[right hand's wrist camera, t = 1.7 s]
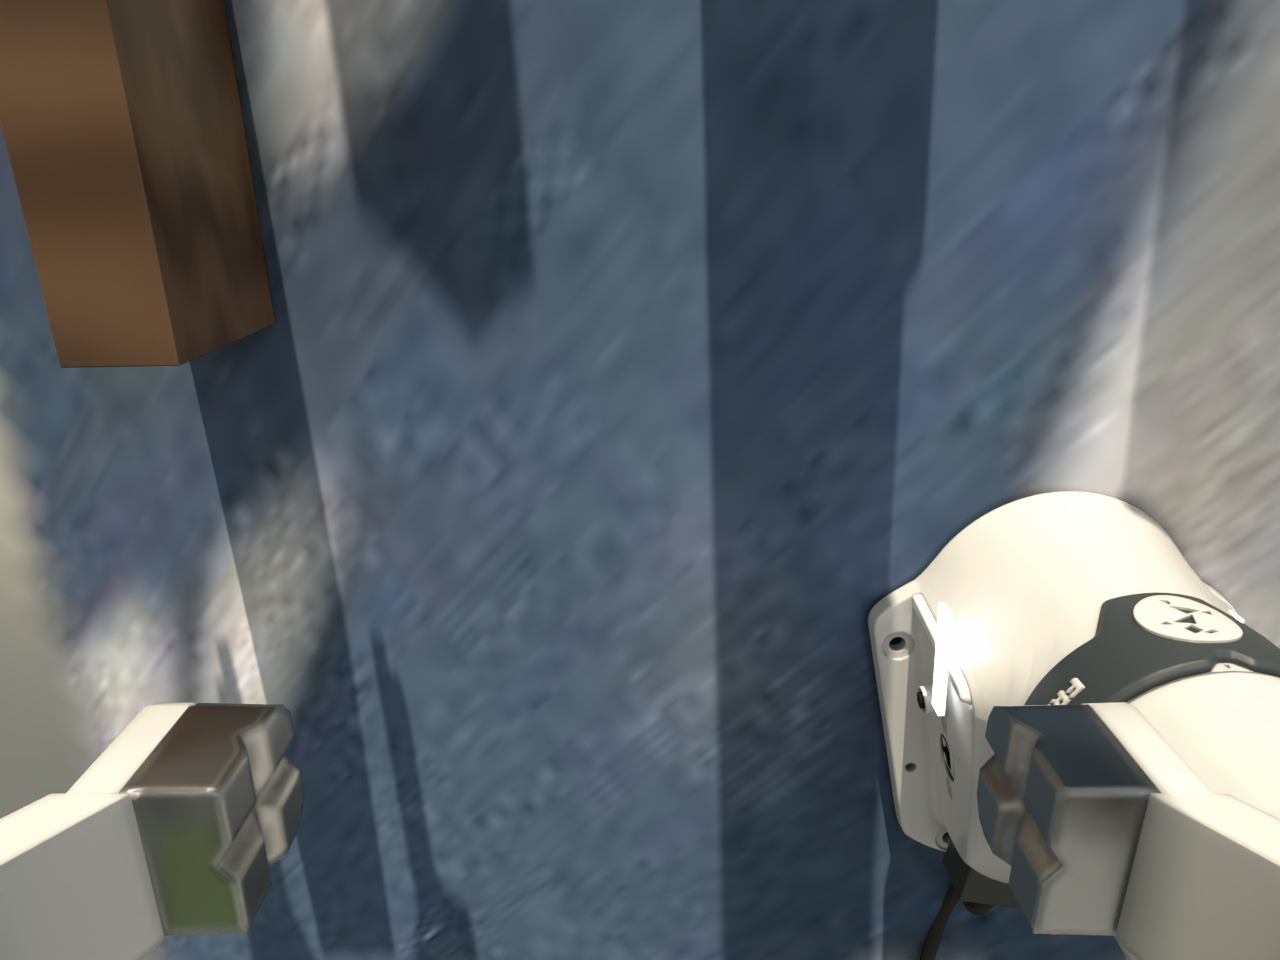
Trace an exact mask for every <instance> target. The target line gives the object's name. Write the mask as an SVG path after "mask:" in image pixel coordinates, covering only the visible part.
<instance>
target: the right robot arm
mask: <svg viewBox="0 0 1280 960" xmlns="http://www.w3.org/2000/svg"><path fill="white" fill-rule="evenodd" d="M1243 622H1244V620H1243V619H1242V618H1241V617H1240V616H1238V615H1237V613H1236V611H1235V609H1234V608H1233V607H1232V605H1231V604H1230V603H1229V602H1228V601H1227V600H1226V599H1225V598H1224V597H1223V596H1222V595H1221V594H1220V593H1218V592H1217V591H1216V590H1214V589H1213V588H1212V587H1210V586H1209V585H1207V584H1206V583H1204V582H1203V581H1202V580H1201V579H1200V578H1199V577H1198V576H1197V575H1196V573H1195V572H1194V571H1193V569H1192V568H1191V567H1190V566H1189V564H1188V563H1187V562H1186V560H1185V559H1184V557H1183V556H1182V554H1181V553H1180V551H1179V550H1178V548H1177V547H1176V545H1175V543H1174V542H1173V540H1172V539H1171V537H1170V536H1169V535H1168V533H1167V532H1166V531H1165V530H1164V529H1163V528H1162V527H1161V526H1160V525H1159V524H1158V523H1157V522H1156V521H1155V520H1154V519H1153V518H1152V517H1150V516H1149V515H1147V514H1146V513H1145V512H1143V511H1141V510H1140V509H1138V508H1137V507H1135V506H1133V505H1131V504H1129V503H1126V502H1124V501H1121V500H1119V499H1116V498H1113V497H1110V496H1106V495H1101V494H1096V493H1090V492H1079V491H1064V492H1051V493H1044V494H1039V495H1034V496H1030V497H1026V498H1023V499H1019V500H1016V501H1013V502H1011V503H1008V504H1006V505H1003V506H1001V507H999V508H997V509H995V510H993V511H991V512H989V513H987V514H985V515H984V516H982V517H980V518H979V519H977V520H976V521H974V522H973V523H971V524H970V525H969V526H967V527H966V528H965V529H963V530H962V531H961V532H960V533H958V534H957V535H956V536H955V537H954V538H953V539H952V540H951V541H950V542H949V543H948V544H947V545H946V546H945V547H944V548H943V549H942V550H941V552H940V553H939V554H938V555H937V556H936V558H935V559H934V560H933V561H932V562H931V564H930V565H929V566H928V567H927V568H926V569H925V570H924V572H923V573H922V574H921V575H919V576H918V577H917V578H916V579H915V580H913V581H911V582H909V583H908V584H906V585H904V586H902V587H900V588H899V589H897V590H895V591H893V592H892V593H890V594H889V595H887V596H885V597H884V598H883V599H881V600H880V601H879V602H877V603H876V604H875V605H874V606H873V608H872V609H871V611H870V613H869V616H868V628H869V635H870V641H871V648H872V655H873V662H874V669H875V676H876V683H877V689H878V696H879V703H880V710H881V717H882V724H883V731H884V737H885V744H886V751H887V758H888V765H889V772H890V779H891V785H892V792H893V799H894V805H895V812H896V816H897V820H898V823H899V824H900V826H901V828H902V830H903V832H904V833H905V834H906V835H907V836H909V837H911V838H912V839H914V840H916V841H918V842H920V843H922V844H924V845H926V846H929V847H932V848H935V849H938V850H941V851H944V852H946V853H945V856H944V859H943V863H944V865H945V867H946V870H947V872H948V875H949V877H950V879H951V882H952V884H953V887H952V888H951V889H950V890H949V891H948V893H947V895H946V897H945V899H944V902H943V905H942V907H941V909H940V912H939V914H938V916H937V918H936V919H935V921H934V923H933V925H932V927H931V928H930V931H929V933H928V936H927V938H926V941H925V944H924V947H923V951H922V954H921V958H920V960H934V959H935V956H936V952H937V949H938V945H939V942H940V939H941V936H942V932H943V930H944V927H945V924H946V922H947V919H948V917H949V915H950V913H951V911H952V909H953V907H954V906H955V905H956V903H957V902H958V901H959V900H960V901H963V903H964V905H965V907H966V908H967V910H968V911H969V912H970V913H972V914H975V915H983V914H985V913H986V912H987V911H989V910H990V909H991V908H992V907H993V905H996V906H1004V907H1011V908H1019V909H1021V910H1022V912H1023V914H1024V916H1025V918H1026V920H1027V921H1028V923H1029V925H1030V927H1031V929H1032V931H1033V933H1038V934H1051V935H1060V934H1073V935H1109V936H1114V937H1115V940H1116V941H1117V942H1118V944H1119V946H1120V947H1121V949H1122V951H1123V952H1124V954H1125V956H1126V957H1127V959H1128V960H1280V649H1279V648H1278V647H1276V646H1275V645H1274V644H1273V643H1271V642H1270V641H1269V640H1268V639H1266V638H1265V637H1263V636H1262V635H1260V634H1259V633H1257V632H1256V631H1254V630H1253V629H1251V628H1250V627H1248V626H1246V625H1245V624H1243ZM895 637H901V638H902V640H901V641H900V642H899V643H897V644H889V643H890V641H891V640H892V639H893V638H895ZM294 738H295V733H294V728H293V723H292V718H291V713H290V711H289V710H288V709H286V708H285V707H284V706H283V705H268V704H220V703H198V704H195V703H155V704H152V705H148V706H145V707H144V708H143V709H142V710H141V711H140V712H139V713H138V714H137V715H136V717H135V718H134V719H133V720H132V721H131V722H130V723H129V724H128V725H127V726H126V728H125V729H124V730H123V731H122V732H121V733H120V734H119V735H118V736H117V738H116V739H115V740H114V741H113V742H112V743H111V744H110V745H109V746H108V747H107V749H106V750H105V751H104V752H103V753H102V754H101V755H100V756H99V757H98V758H97V760H96V761H95V762H94V763H93V764H92V765H91V766H90V767H89V768H88V769H87V771H86V772H85V773H84V774H83V775H82V776H81V777H80V778H79V779H78V780H77V782H76V783H75V784H74V785H73V786H72V787H71V788H70V789H69V790H68V791H67V793H66V794H50V795H48V796H46V797H44V798H42V799H40V800H38V801H36V802H34V803H32V804H30V805H28V806H25V807H23V808H21V809H20V810H17V811H15V812H13V813H11V814H9V815H7V816H5V817H3V818H1V819H0V960H142V959H143V958H144V957H145V956H147V955H148V954H149V953H150V952H151V951H153V950H154V949H155V948H156V947H157V946H159V945H160V944H161V943H162V942H163V941H165V936H171V935H205V934H239V933H247V931H248V929H249V927H250V926H251V924H252V922H253V920H254V918H255V916H256V914H257V912H258V910H259V908H260V906H261V904H262V902H263V900H264V898H265V896H266V894H267V892H268V890H269V888H270V886H271V885H272V883H271V877H270V872H269V866H270V865H271V864H273V863H274V862H276V861H277V860H278V859H280V858H281V857H283V856H284V855H285V854H287V853H288V851H289V849H290V846H291V844H292V842H293V840H294V838H295V836H296V834H297V830H298V826H299V821H300V817H301V812H302V808H303V784H302V777H301V770H300V768H299V767H298V766H297V765H296V764H295V763H294V762H293V761H292V760H291V759H290V758H289V757H288V756H287V755H286V754H285V753H286V751H287V750H288V748H289V746H290V744H291V743H292V741H293V739H294ZM947 832H948V833H949V834H946V835H944V834H945V833H947Z"/></svg>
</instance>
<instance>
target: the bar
mask: <svg viewBox="0 0 1280 960" xmlns="http://www.w3.org/2000/svg"><path fill="white" fill-rule="evenodd" d="M0 122H1V126H2V130H3V134H4V138H5V143H6V147H7V151H8V155H9V159H10V163H11V167H12V171H13V175H14V179H15V183H16V187H17V191H18V196H19V200H20V204H21V208H22V212H23V216H24V220H25V224H26V228H27V232H28V236H29V240H30V245H31V249H32V253H33V257H34V261H35V265H36V269H37V273H38V277H39V281H40V285H41V289H42V293H43V298H44V302H45V306H46V310H47V314H48V318H49V322H50V326H51V330H52V334H53V338H54V342H55V347H56V351H57V355H58V359H59V363H60V367H62V368H74V367H136V366H179V365H181V364H184V363H186V362H188V361H191V360H193V359H195V358H197V357H200V356H202V355H204V354H207V353H209V352H211V351H213V350H216V349H218V348H220V347H223V346H225V345H227V344H229V343H232V342H234V341H236V340H239V339H241V338H243V337H245V336H248V335H250V334H252V333H255V332H257V331H259V330H261V329H264V328H266V327H268V326H271V325H273V324H275V319H274V313H273V306H272V300H271V294H270V287H269V281H268V275H267V268H266V262H265V256H264V250H263V243H262V237H261V231H260V224H259V218H258V212H257V205H256V199H255V193H254V187H253V180H252V174H251V168H250V161H249V155H248V149H247V142H246V136H245V130H244V124H243V117H242V111H241V105H240V98H239V92H238V86H237V80H236V73H235V67H234V61H233V54H232V48H231V42H230V35H229V29H228V23H227V17H226V10H225V4H224V0H0Z"/></svg>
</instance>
